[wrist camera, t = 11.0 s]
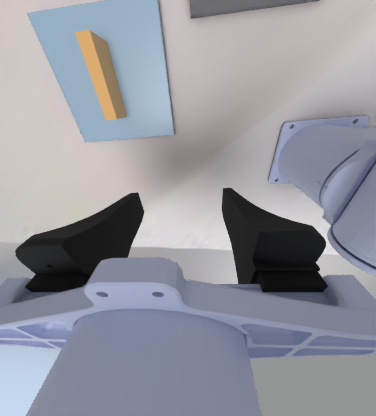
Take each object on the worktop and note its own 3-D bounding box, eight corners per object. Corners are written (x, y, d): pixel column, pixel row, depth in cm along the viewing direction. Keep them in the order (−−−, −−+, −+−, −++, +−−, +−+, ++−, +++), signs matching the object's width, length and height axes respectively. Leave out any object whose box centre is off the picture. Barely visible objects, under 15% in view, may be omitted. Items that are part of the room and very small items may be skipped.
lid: (159, 2, 13) (147, -34, 10) (175, 132, 19) (171, 139, 16) (41, 20, 14) (-10, -7, 11) (91, 140, 20) (70, 147, 17)
